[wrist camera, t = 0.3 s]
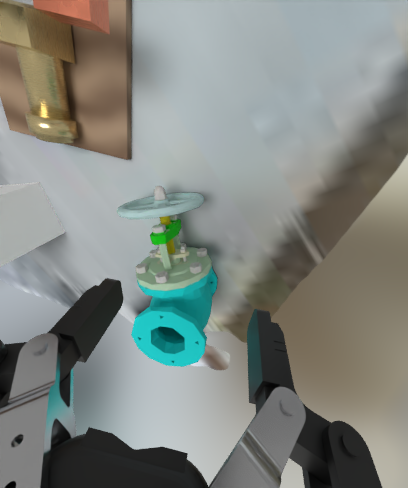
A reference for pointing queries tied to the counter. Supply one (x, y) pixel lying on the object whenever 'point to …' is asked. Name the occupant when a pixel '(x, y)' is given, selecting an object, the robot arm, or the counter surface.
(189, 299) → the valve
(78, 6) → the valve lever
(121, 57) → the mounting board
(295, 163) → the counter surface
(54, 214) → the milk
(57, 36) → the brass valve
